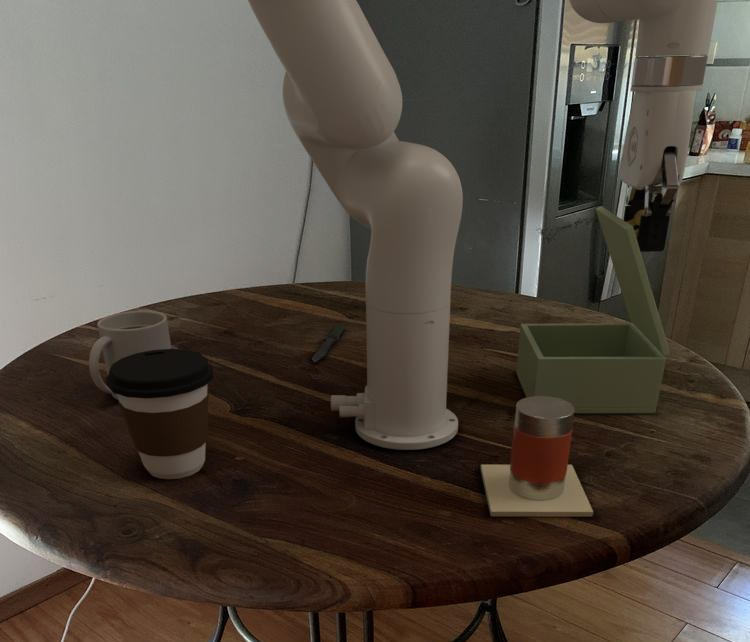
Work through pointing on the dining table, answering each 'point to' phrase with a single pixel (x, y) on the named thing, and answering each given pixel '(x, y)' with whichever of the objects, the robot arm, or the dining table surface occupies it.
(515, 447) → the can
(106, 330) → the mug
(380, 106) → the robot arm
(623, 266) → the lid
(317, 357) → the knife
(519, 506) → the mat
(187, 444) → the coffee cup
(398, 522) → the dining table surface
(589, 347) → the chest
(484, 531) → the dining table surface
